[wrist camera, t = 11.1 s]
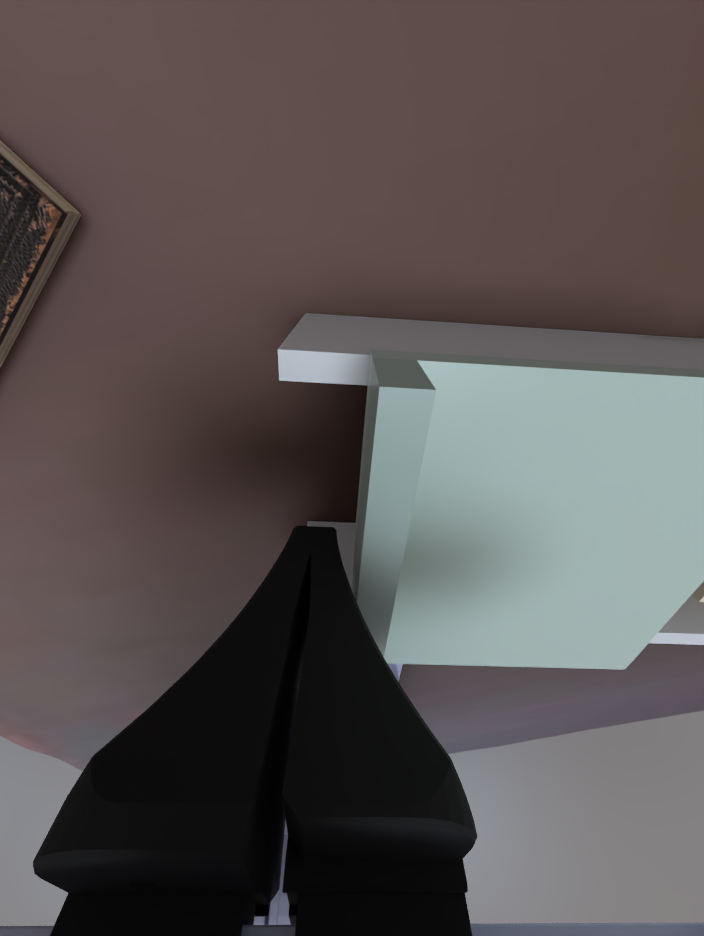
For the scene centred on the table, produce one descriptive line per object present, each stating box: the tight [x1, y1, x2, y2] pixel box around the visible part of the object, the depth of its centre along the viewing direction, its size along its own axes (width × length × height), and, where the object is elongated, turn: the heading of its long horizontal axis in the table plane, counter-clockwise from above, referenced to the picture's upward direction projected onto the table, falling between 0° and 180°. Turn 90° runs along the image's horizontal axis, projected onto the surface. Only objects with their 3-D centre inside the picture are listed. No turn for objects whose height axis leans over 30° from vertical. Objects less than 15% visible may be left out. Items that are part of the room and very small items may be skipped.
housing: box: [278, 313, 704, 645], centre depth 15 cm, size 12×26×6 cm, turn 87°
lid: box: [350, 350, 704, 669], centre depth 11 cm, size 12×12×3 cm
